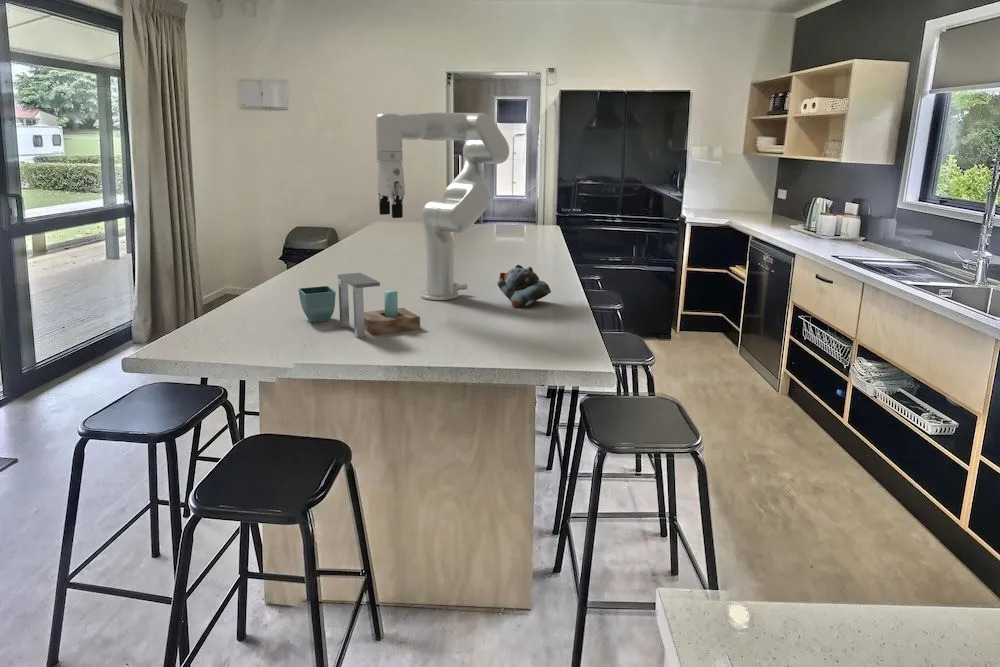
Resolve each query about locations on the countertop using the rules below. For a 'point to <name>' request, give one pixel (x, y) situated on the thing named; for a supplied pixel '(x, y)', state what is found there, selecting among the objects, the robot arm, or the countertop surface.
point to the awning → (358, 284)
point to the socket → (390, 322)
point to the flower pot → (317, 302)
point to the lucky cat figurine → (522, 286)
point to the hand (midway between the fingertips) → (390, 216)
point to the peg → (391, 303)
